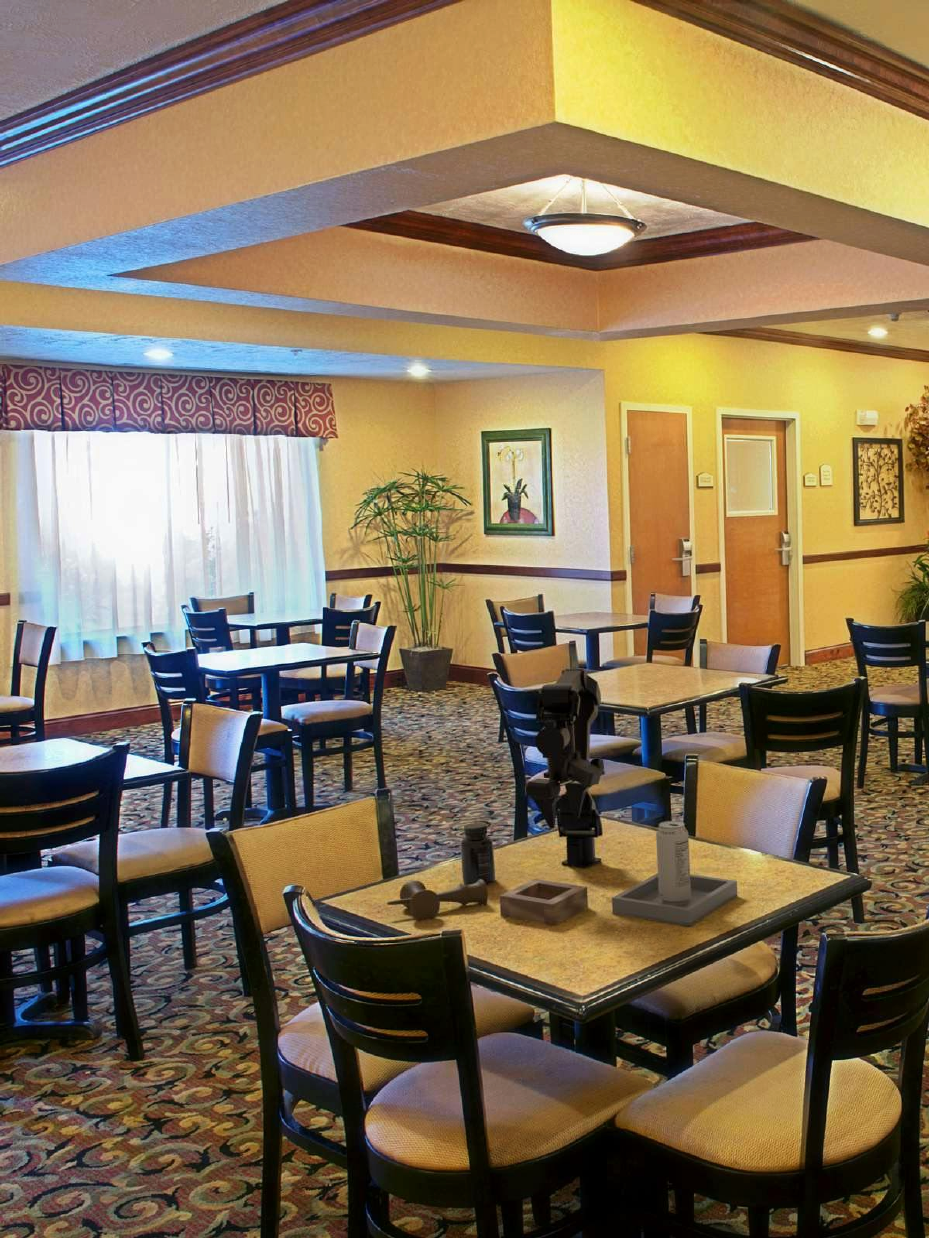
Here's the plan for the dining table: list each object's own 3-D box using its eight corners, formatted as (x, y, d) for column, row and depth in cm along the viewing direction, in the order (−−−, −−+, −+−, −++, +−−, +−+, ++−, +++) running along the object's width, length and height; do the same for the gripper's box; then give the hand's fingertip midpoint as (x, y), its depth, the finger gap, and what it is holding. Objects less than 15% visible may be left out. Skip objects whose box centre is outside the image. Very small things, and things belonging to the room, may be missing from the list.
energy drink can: (671, 894, 241) (667, 818, 240) (697, 900, 237) (694, 822, 235) (652, 902, 237) (649, 825, 235) (679, 908, 232) (675, 829, 231)
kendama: (494, 912, 240) (393, 925, 234) (478, 900, 249) (381, 912, 243) (493, 882, 240) (392, 894, 234) (477, 870, 249) (380, 882, 243)
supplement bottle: (496, 876, 262) (493, 820, 261) (494, 886, 255) (491, 828, 254) (464, 877, 263) (460, 821, 262) (461, 887, 256) (457, 829, 255)
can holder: (536, 898, 245) (535, 878, 245) (588, 907, 238) (587, 886, 238) (500, 915, 236) (499, 895, 235) (553, 925, 229) (552, 904, 228)
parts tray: (663, 884, 249) (662, 870, 249) (737, 896, 240) (736, 880, 239) (612, 913, 234) (611, 897, 233) (689, 926, 224) (688, 910, 224)
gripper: (569, 758, 238) (573, 838, 239) (618, 741, 253) (622, 816, 254) (521, 754, 245) (525, 831, 246) (572, 737, 260) (576, 811, 261)
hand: (564, 822), depth 252 cm, fingers open, 9 cm apart
